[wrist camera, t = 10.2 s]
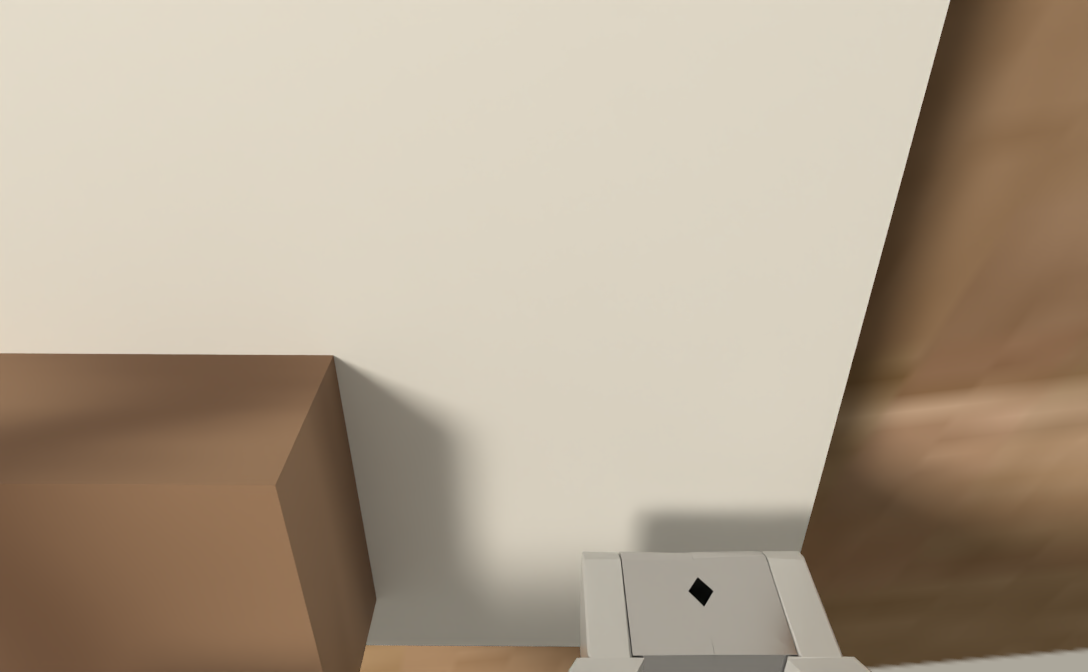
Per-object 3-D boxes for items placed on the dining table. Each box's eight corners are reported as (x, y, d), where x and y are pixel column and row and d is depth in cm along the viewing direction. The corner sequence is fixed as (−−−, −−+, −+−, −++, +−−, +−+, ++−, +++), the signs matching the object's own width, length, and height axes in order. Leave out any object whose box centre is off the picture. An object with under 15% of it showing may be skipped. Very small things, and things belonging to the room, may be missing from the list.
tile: (334, 355, 10) (275, 484, 8) (377, 599, 13) (341, 745, 10) (-111, 352, 10) (-289, 481, 8) (25, 597, 13) (-80, 743, 10)
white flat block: (914, -358, 8) (1074, -459, 6) (737, 522, 16) (774, 648, 13) (-405, -363, 8) (-819, -466, 6) (38, 518, 16) (-60, 642, 13)
